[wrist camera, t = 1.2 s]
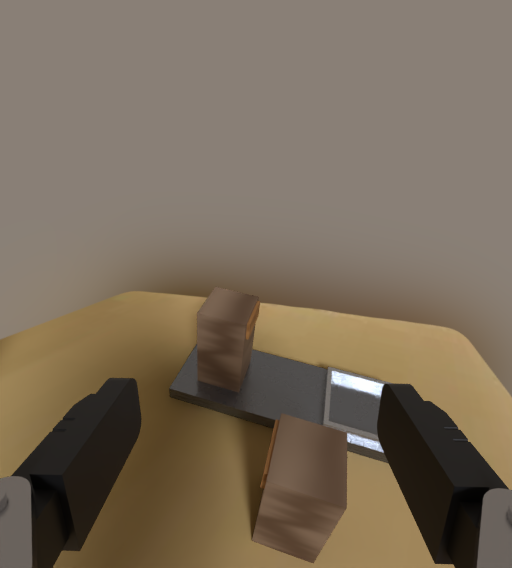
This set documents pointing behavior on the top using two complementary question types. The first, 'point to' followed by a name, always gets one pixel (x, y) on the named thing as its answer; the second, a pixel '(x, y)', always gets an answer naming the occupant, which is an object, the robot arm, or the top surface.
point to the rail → (293, 397)
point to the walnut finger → (302, 487)
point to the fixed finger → (225, 337)
